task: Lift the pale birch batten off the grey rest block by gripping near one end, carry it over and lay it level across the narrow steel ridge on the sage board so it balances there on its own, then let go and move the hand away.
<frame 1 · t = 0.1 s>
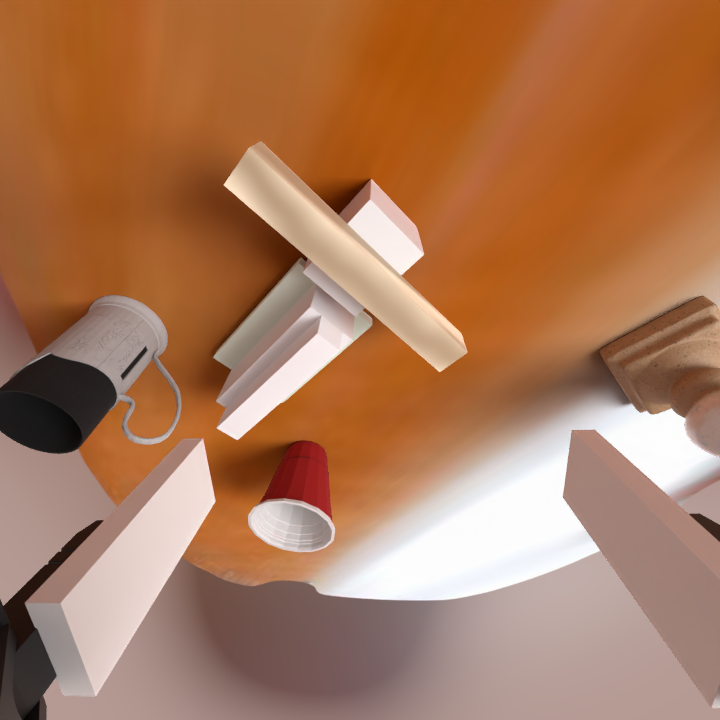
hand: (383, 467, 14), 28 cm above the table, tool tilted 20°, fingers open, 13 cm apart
glass holder: (153, 337, 45), on the table
birch batten: (362, 263, 31), point 7 cm above the table, touching rest block
ridge stand: (291, 334, 44), on the table
rest block: (364, 234, 37), on the table
plastic cup: (305, 452, 56), on the table
candle holder: (663, 353, 44), on the table
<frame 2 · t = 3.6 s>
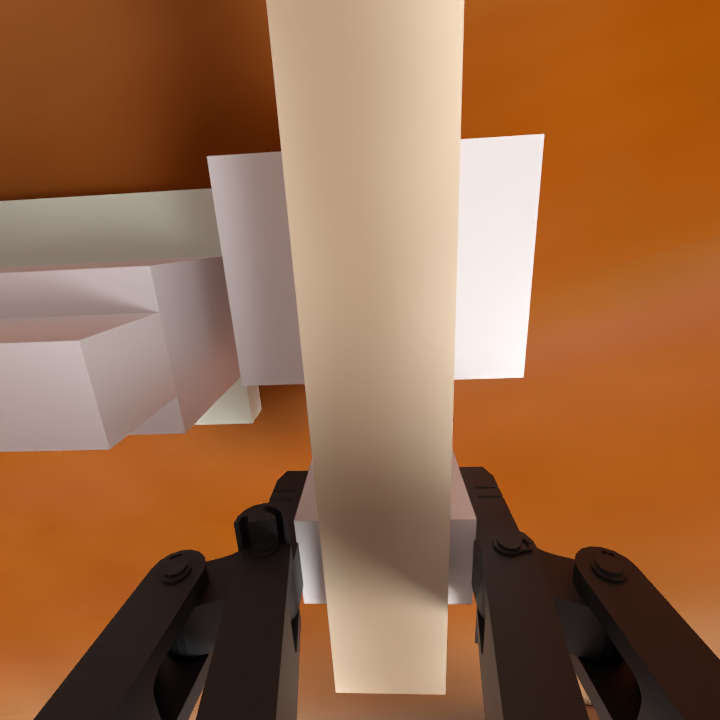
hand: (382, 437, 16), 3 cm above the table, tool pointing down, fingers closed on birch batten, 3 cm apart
birch batten: (376, 274, 10), point 7 cm above the table, touching gripper, rest block
ridge stand: (81, 317, 18), on the table
rest block: (376, 258, 17), on the table
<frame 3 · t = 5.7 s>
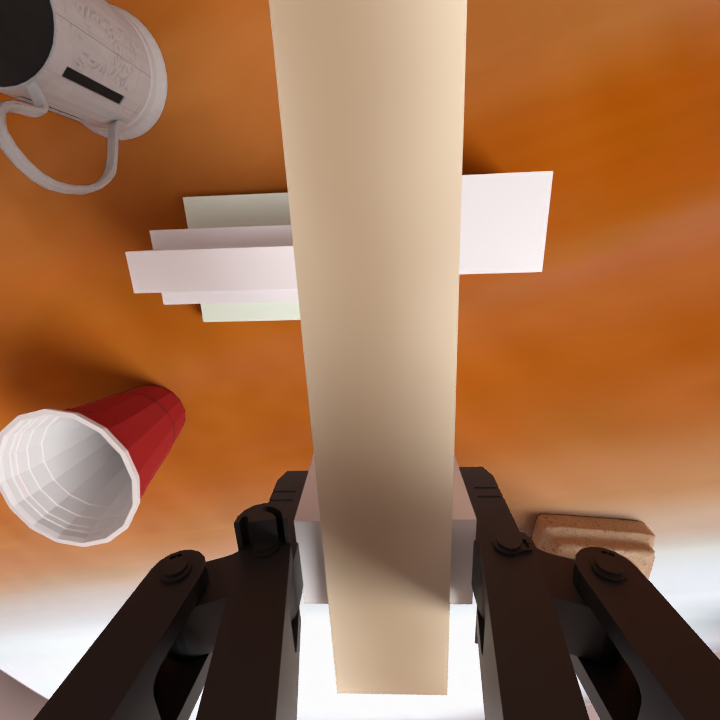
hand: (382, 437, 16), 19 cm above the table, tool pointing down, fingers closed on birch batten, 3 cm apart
glass holder: (130, 114, 30), on the table
birch batten: (377, 275, 10), point 23 cm above the table, touching gripper
ridge stand: (293, 258, 33), on the table
rest block: (461, 227, 31), on the table
plastic cup: (157, 408, 38), on the table
candle holder: (578, 557, 41), on the table
when the fingers open (7 cm above the table, at t = 8.2 s): birch batten drops 1 cm, resting on ridge stand.
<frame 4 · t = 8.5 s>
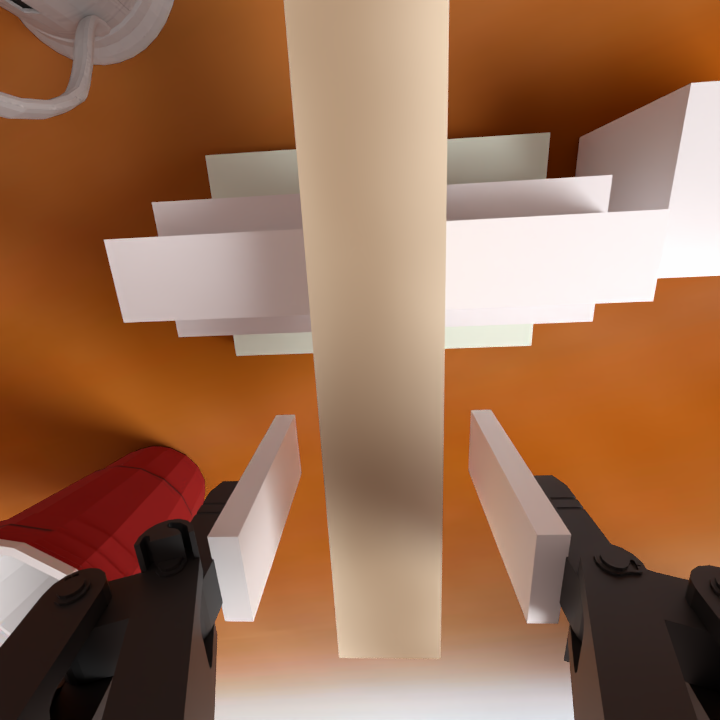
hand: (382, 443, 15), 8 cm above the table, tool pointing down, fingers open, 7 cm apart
glass holder: (117, 20, 18), on the table
birch batten: (376, 272, 11), point 10 cm above the table, touching ridge stand
ridge stand: (377, 254, 21), on the table
rest block: (654, 199, 19), on the table
plastic cup: (164, 477, 26), on the table
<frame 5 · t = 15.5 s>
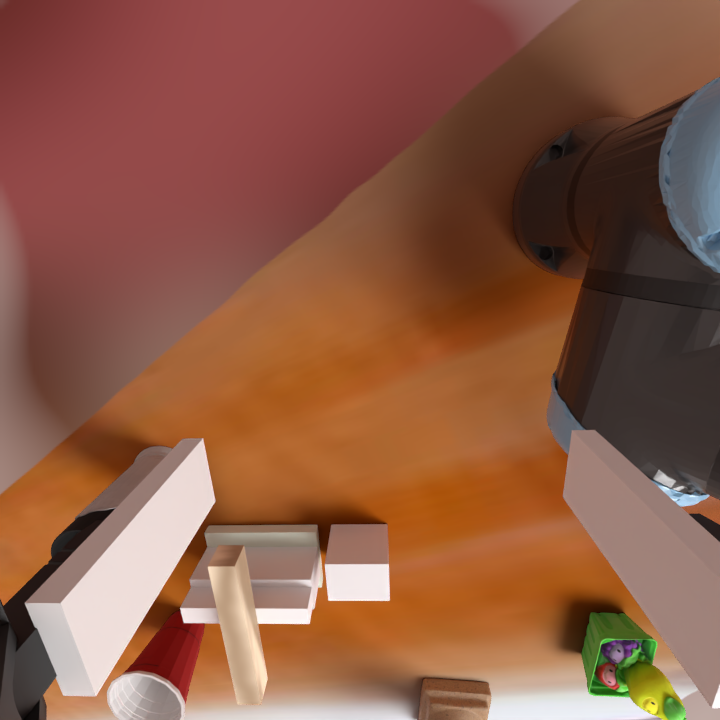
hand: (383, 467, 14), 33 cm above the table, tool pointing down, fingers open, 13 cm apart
glass holder: (174, 488, 54), on the table
birch batten: (244, 616, 48), point 10 cm above the table, touching ridge stand
fruit basket: (605, 632, 59), on the table
ridge stand: (266, 552, 57), on the table
rest block: (360, 541, 56), on the table
plastic cup: (187, 620, 62), on the table
candle holder: (452, 700, 65), on the table
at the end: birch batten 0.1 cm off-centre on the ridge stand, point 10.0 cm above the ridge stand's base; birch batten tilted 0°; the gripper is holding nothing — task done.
